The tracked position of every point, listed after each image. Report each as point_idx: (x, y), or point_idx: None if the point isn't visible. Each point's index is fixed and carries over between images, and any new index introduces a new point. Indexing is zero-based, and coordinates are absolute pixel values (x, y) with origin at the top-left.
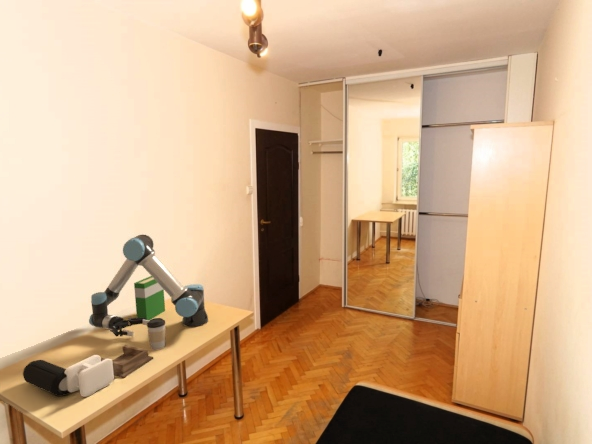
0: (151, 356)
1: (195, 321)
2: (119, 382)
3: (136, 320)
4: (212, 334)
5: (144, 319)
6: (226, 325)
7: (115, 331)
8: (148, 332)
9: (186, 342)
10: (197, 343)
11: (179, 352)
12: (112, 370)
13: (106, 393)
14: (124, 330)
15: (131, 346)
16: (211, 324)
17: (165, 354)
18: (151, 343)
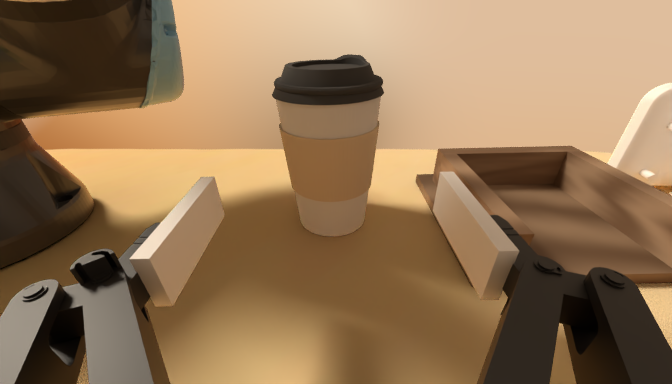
0: (419, 178)
1: (77, 180)
2: None
3: (141, 338)
4: (195, 152)
5: (104, 272)
6: (118, 151)
7: (641, 300)
8: (375, 135)
9: (265, 170)
10: (266, 153)
11: None
12: (624, 136)
13: None
14: (498, 229)
15: (482, 199)
16: (87, 178)
17: None
18: (368, 189)
